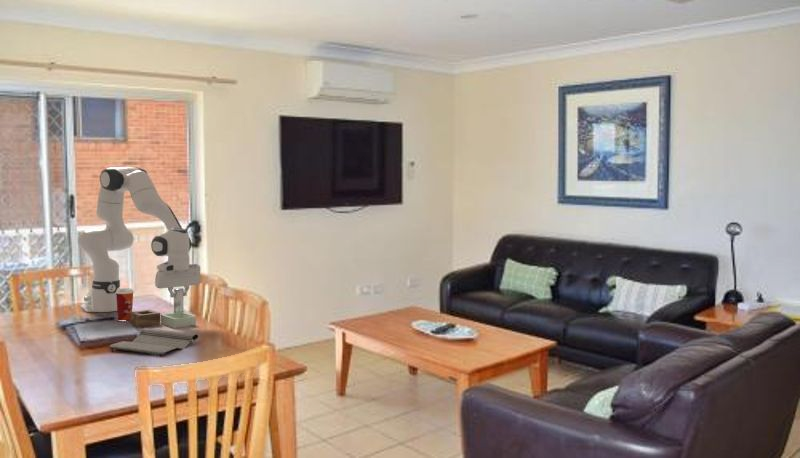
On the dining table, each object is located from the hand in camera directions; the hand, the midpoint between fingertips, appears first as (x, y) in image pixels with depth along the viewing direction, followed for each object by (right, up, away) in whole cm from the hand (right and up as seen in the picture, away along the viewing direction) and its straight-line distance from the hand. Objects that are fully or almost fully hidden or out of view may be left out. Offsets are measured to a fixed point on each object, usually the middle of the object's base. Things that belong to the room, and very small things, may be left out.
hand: (178, 296), depth 291 cm
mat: (+4, -16, -38) cm, 41 cm away
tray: (0, -12, +1) cm, 12 cm away
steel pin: (0, -8, +1) cm, 8 cm away
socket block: (-15, -12, 0) cm, 19 cm away
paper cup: (-26, -11, +5) cm, 29 cm away
